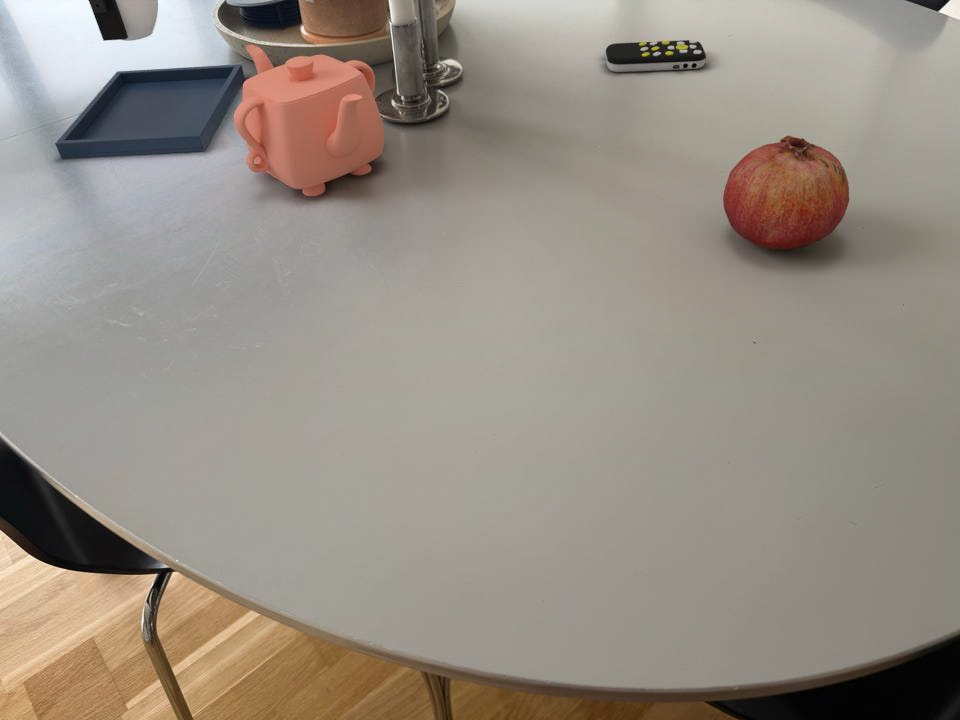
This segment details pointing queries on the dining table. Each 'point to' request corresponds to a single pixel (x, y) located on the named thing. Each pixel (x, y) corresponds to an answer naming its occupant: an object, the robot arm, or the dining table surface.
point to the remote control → (655, 56)
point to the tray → (153, 112)
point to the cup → (138, 17)
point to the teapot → (309, 120)
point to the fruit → (786, 194)
